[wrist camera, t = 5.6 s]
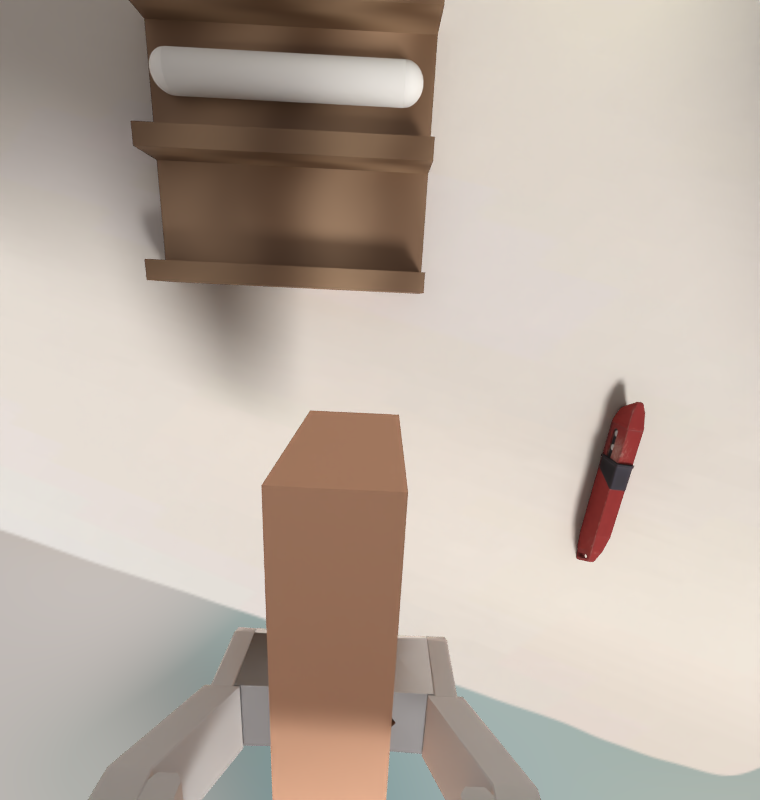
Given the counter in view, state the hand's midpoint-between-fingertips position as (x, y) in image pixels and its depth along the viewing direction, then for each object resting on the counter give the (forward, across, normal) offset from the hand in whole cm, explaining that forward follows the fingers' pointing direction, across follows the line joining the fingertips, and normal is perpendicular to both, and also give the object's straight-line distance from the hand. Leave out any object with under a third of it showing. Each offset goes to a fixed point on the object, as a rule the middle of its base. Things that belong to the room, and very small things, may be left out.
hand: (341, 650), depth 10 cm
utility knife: (+16, -16, +2) cm, 22 cm away
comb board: (+15, +4, -16) cm, 22 cm away
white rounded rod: (+14, +4, -19) cm, 24 cm away
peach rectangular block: (+2, 0, 0) cm, 2 cm away
